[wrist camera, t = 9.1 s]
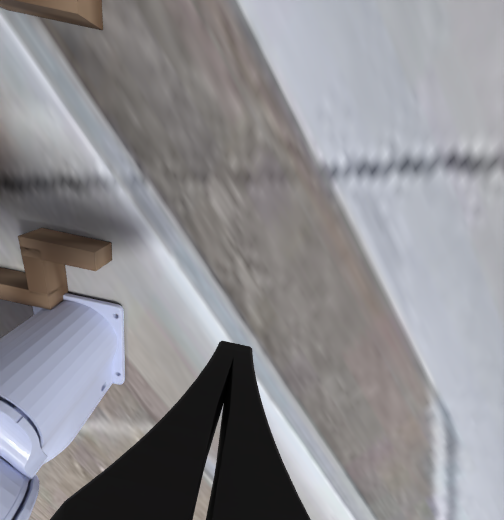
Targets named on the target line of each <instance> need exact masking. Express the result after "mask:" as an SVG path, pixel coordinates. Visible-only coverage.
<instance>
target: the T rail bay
mask: <svg viewBox="0 0 504 520" xmlns="http://www.w3.org/2000/svg"><path fill="white" fill-rule="evenodd" d="M0 6H1V7H3V8H5V9H7V10H10V11H15V12H20V13H24V14H29V15H34V16H38V17H43V18H48V19H53V20H57V21H62V22H67V23H71V24H76V25H81V26H85V27H90V28H95V29H100V30H103V21H102V0H0ZM18 239H19V244H20V249H21V254H22V259H23V264H24V269H25V273H24V272H20V271H15V270H10V269H6V268H1V267H0V299H2V300H7V301H12V302H16V303H21V304H26V305H30V306H35V307H39V308H44V309H49V310H51V309H52V308H54V307H55V306H56V305H58V304H59V303H60V302H62V301H63V300H64V299H63V295H64V294H66V293H68V286H67V278H66V270H65V265H69V266H74V267H79V268H83V269H88V270H93V271H97V270H98V269H100V268H101V267H103V266H104V265H106V264H107V263H108V262H110V261H111V260H112V247H111V243H110V242H106V241H101V240H96V239H92V238H87V237H83V236H78V235H73V234H69V233H64V232H59V231H55V230H50V229H45V228H39V229H37V230H34V231H31V232H28V233H25V234H22V235H20V236H18Z"/></svg>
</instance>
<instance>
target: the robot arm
mask: <svg viewBox="0 0 504 520" xmlns="http://www.w3.org/2000/svg"><path fill="white" fill-rule="evenodd" d="M63 299H64V300H63V301H62V302H60V303H59V304H58V305H56V306H55V307H54V308H52V309H51V310H49V309H44V308H39V307H35V306H32V307H33V312H34V315H33V316H32V317H30V318H29V319H27V320H26V321H25V322H23V323H22V324H20V325H19V326H17V327H16V328H15V329H13V330H12V331H10V332H9V333H7V334H6V335H5V336H3V337H2V338H0V520H28V519H29V517H30V515H31V512H32V510H33V507H34V504H35V502H36V499H37V496H38V492H39V479H38V477H37V475H35V474H36V473H37V471H38V470H39V469H40V467H41V466H42V465H43V464H44V463H46V462H48V461H50V460H51V459H53V458H54V457H55V456H57V455H58V454H59V453H61V452H62V451H63V450H64V449H65V448H66V447H67V446H68V445H69V444H70V443H71V442H72V441H73V439H74V438H75V436H76V435H77V434H78V432H79V431H80V429H81V428H82V426H83V425H84V423H85V422H86V421H87V419H88V418H89V416H90V415H91V413H92V412H93V410H94V409H95V408H96V406H97V405H98V403H99V402H100V400H101V399H102V397H103V396H104V395H105V393H106V392H107V390H108V389H109V387H110V386H111V384H112V383H114V384H123V382H124V381H125V357H124V310H123V308H122V306H120V305H118V304H114V303H109V302H105V301H100V300H96V299H91V298H86V297H82V296H77V295H72V294H68V293H66V294H64V295H63ZM116 314H117V315H116ZM223 403H224V405H223ZM222 406H223V413H222V421H221V429H220V438H219V446H218V454H217V462H216V469H215V475H214V481H213V486H212V491H211V496H210V501H209V506H208V512H207V517H206V520H310V518H309V516H308V514H307V512H306V510H305V508H304V506H303V504H302V502H301V500H300V498H299V496H298V494H297V492H296V490H295V487H294V485H293V483H292V481H291V479H290V477H289V474H288V472H287V470H286V468H285V466H284V463H283V461H282V459H281V456H280V454H279V451H278V449H277V446H276V444H275V441H274V438H273V436H272V433H271V430H270V427H269V425H268V421H267V418H266V415H265V412H264V409H263V405H262V402H261V398H260V394H259V390H258V386H257V381H256V377H255V371H254V365H253V355H252V348H251V347H249V346H244V345H240V344H235V343H230V342H226V341H221V342H219V344H218V347H217V349H216V351H215V352H214V354H213V356H212V357H211V359H210V361H209V362H208V364H207V365H206V367H205V368H204V369H203V371H202V372H201V373H200V375H199V376H198V378H197V379H196V380H195V382H194V383H193V384H192V385H191V386H190V388H189V389H188V390H187V391H186V393H185V394H184V395H183V396H182V397H181V399H180V400H179V401H178V402H177V403H176V404H175V405H174V406H173V407H172V409H171V410H170V411H169V412H168V413H167V414H166V415H165V416H164V417H163V418H162V419H161V420H160V421H159V422H158V423H157V424H156V425H155V426H154V427H153V428H152V429H151V430H150V431H149V432H148V433H147V434H146V435H145V436H144V437H143V438H141V439H140V440H139V441H138V442H137V443H136V444H135V445H134V446H133V447H131V448H130V449H129V450H128V451H127V452H126V453H124V454H123V455H122V456H121V457H120V458H119V459H117V460H116V461H115V462H114V463H113V464H112V465H110V466H109V467H108V468H107V469H106V470H104V471H103V472H102V473H101V474H99V475H98V476H97V477H95V478H94V479H93V480H92V481H90V482H89V483H88V484H86V485H85V486H84V487H83V488H81V489H80V490H79V491H77V492H76V493H75V494H73V495H72V496H71V497H70V498H68V499H67V500H66V501H65V502H64V503H63V504H62V505H61V507H60V508H59V509H58V510H57V512H56V513H55V514H54V515H53V517H52V518H51V519H50V520H192V519H193V515H194V510H195V506H196V501H197V497H198V493H199V488H200V484H201V479H202V475H203V471H204V467H205V463H206V460H207V456H208V453H209V450H210V446H211V443H212V440H213V436H214V433H215V430H216V426H217V423H218V420H219V416H220V413H221V410H222Z"/></svg>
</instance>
